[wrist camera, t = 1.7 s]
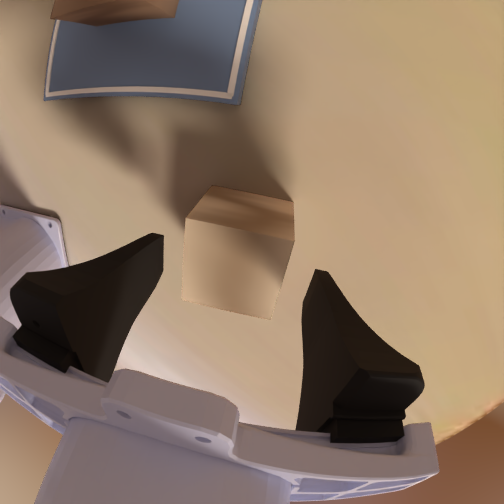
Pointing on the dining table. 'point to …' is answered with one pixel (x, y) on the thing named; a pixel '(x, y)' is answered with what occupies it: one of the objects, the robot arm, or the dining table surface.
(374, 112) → the dining table surface
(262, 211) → the maple block
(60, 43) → the board
